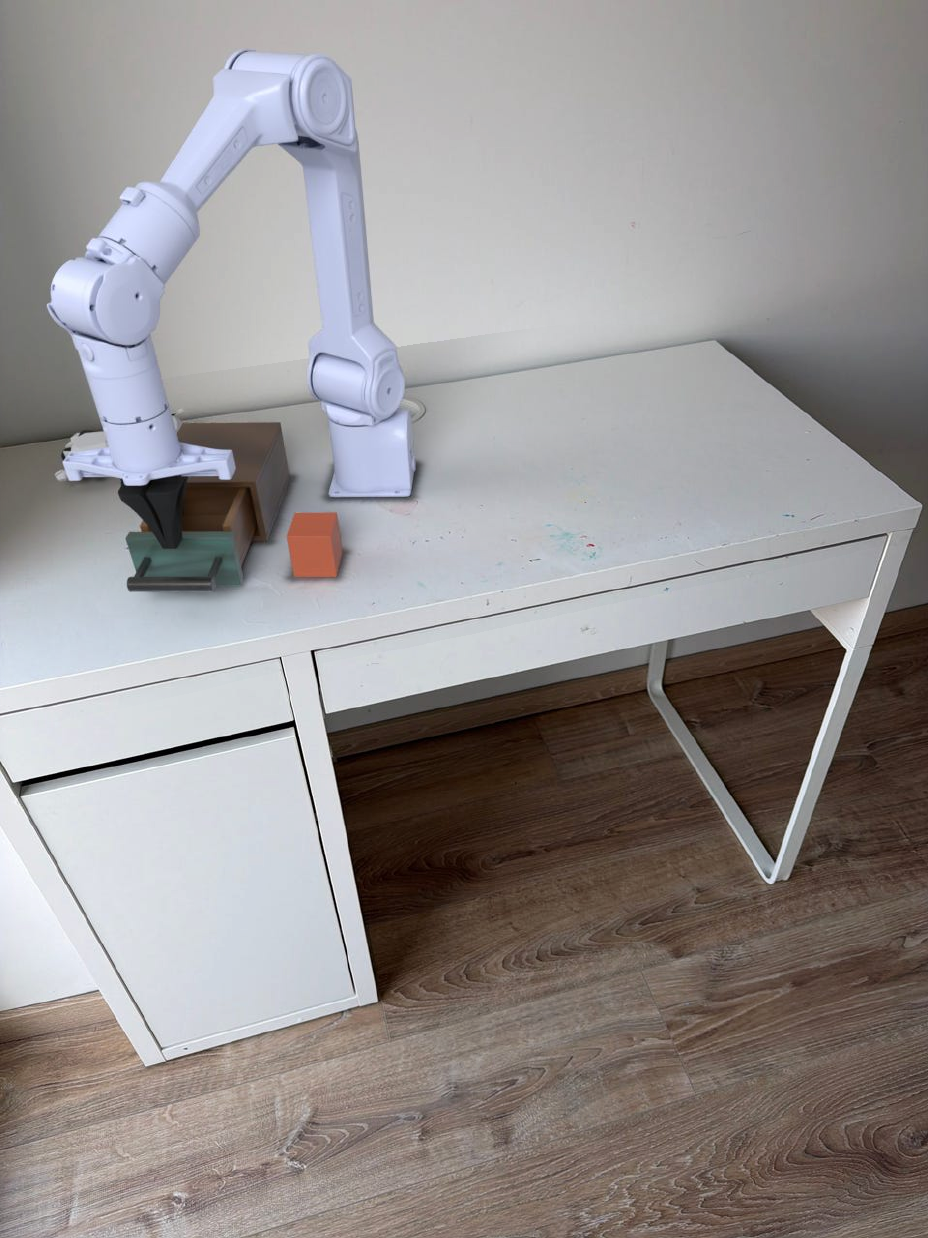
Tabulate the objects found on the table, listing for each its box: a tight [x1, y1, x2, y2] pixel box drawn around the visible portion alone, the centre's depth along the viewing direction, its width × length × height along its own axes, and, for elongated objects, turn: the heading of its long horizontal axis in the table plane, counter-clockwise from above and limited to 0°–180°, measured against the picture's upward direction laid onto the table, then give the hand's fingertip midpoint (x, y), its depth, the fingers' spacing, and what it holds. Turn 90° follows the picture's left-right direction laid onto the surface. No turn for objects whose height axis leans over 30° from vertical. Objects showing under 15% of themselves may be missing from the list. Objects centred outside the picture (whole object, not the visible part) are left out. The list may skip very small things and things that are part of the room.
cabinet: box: [176, 421, 291, 542], centre depth 98 cm, size 13×11×7 cm
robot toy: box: [54, 408, 185, 482], centre depth 108 cm, size 12×4×15 cm
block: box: [286, 511, 344, 578], centre depth 90 cm, size 4×4×5 cm
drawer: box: [125, 487, 258, 593], centre depth 89 cm, size 17×10×6 cm, turn 178°
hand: (172, 542), depth 83 cm, fingers closed
